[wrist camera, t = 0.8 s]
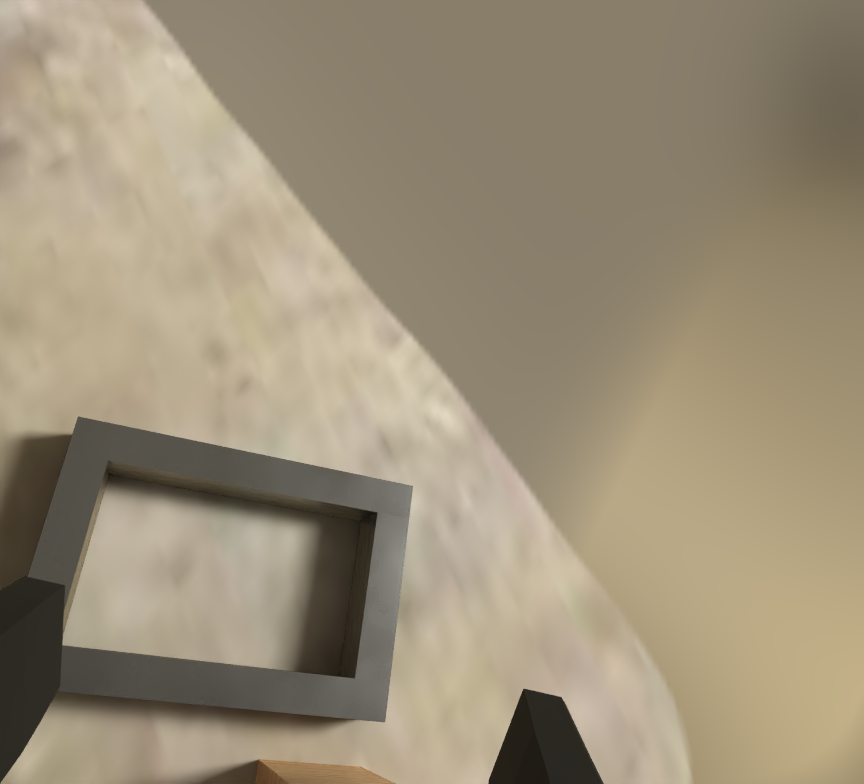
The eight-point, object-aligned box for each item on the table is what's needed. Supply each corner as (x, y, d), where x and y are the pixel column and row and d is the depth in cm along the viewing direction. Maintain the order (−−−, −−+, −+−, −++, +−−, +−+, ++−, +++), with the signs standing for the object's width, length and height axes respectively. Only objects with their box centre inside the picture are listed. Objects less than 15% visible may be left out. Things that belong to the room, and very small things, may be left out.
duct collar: (366, 717, 25) (385, 722, 23) (3, 682, 21) (-7, 685, 19) (394, 496, 28) (412, 486, 26) (81, 433, 24) (78, 416, 22)
